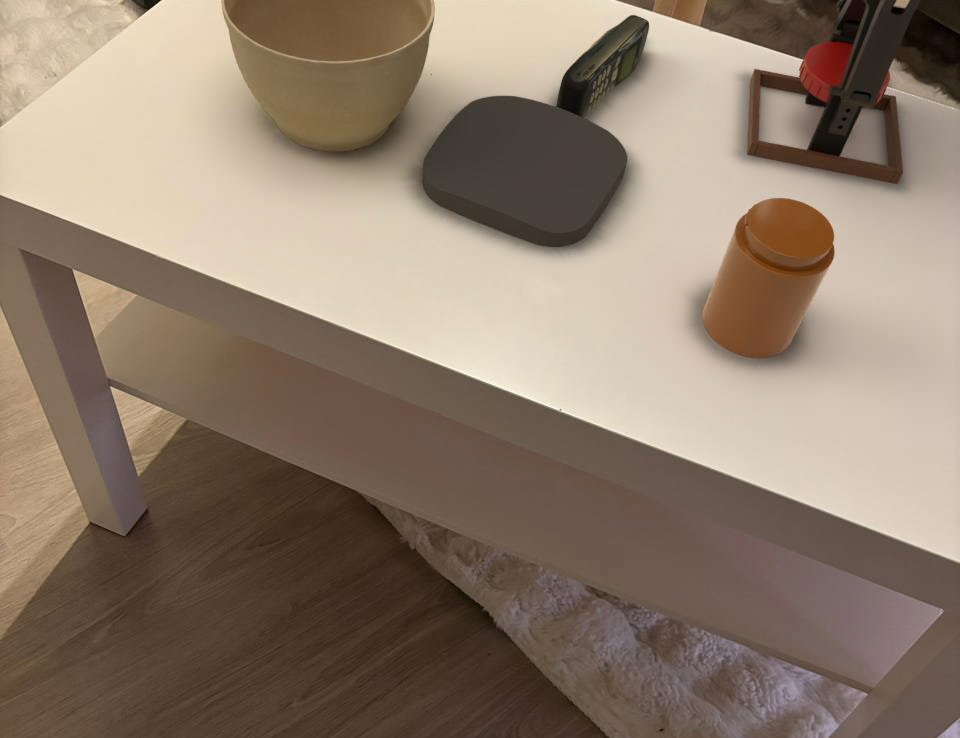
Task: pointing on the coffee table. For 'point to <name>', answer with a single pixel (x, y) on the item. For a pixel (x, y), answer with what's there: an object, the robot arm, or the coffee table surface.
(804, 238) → the jar
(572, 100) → the mobile phone
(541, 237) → the media streaming box
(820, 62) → the lid
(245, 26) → the planter bowl
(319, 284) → the coffee table surface
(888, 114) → the picture frame
